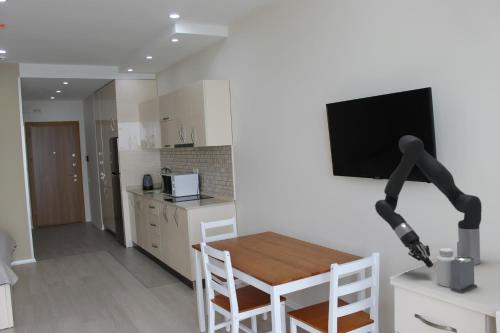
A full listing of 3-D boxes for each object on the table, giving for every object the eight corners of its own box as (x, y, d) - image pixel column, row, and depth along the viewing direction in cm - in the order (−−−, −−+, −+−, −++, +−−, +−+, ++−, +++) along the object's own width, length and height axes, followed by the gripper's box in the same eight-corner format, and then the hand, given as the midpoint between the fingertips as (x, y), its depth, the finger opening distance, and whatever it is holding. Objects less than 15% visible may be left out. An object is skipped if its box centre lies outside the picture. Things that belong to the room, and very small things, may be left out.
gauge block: (448, 289, 177) (447, 258, 176) (463, 283, 183) (462, 253, 183) (462, 293, 172) (461, 261, 171) (477, 286, 178) (476, 256, 178)
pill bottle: (433, 283, 185) (432, 249, 184) (445, 279, 189) (445, 246, 188) (449, 288, 178) (448, 253, 177) (462, 284, 182) (461, 249, 181)
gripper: (402, 232, 193) (427, 265, 183) (420, 227, 200) (445, 258, 191) (392, 242, 197) (417, 274, 188) (410, 236, 205) (434, 267, 195)
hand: (431, 266), depth 189 cm, fingers closed
